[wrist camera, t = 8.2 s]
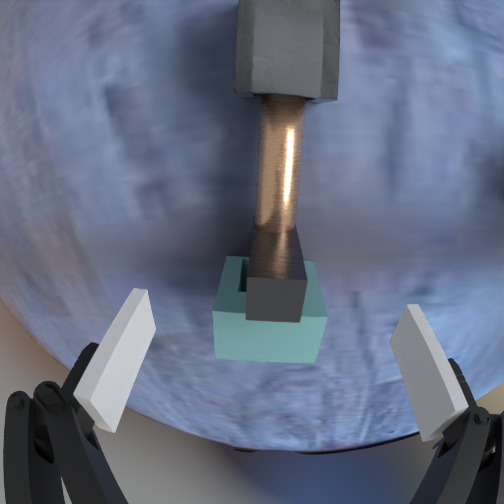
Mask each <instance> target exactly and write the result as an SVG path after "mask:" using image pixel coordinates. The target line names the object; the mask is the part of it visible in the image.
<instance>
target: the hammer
mask: <svg viewBox="0 0 504 504" xmlns="http://www.w3.org/2000/svg"><path fill="white" fill-rule="evenodd" d="M305 100H306V97H299V96H288V95H275V94H261V109H260V129H259V150H258V170H257V190H256V210H255V216H254V223H253V232H252V240H251V248H250V257H249V265H248V273H247V291H246V317H245V320H253V321H270V322H291V323H300V320H301V315H302V310H303V304H304V299H305V293H306V288H307V282H308V279H307V274H306V270H305V265H304V260H303V256H302V251H301V247H300V242H299V238H298V234H297V229H296V225H295V218H296V209H297V199H298V189H299V178H300V167H301V156H302V143H303V130H304V116H305Z"/></svg>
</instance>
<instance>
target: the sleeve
mask: <svg viewBox="0 0 504 504" xmlns="http://www.w3.org/2000/svg"><path fill="white" fill-rule="evenodd" d="M339 52H340V0H239V7H238V23H237V40H236V59H235V80H234V92H235V93H237V94H238V95H239V96H241V97H242V98H261V94H275V95H288V96H299V97H306V100H305V102H311V103H324V102H330V101H335V100H337V95H338V77H339Z"/></svg>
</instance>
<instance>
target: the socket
mask: <svg viewBox="0 0 504 504" xmlns="http://www.w3.org/2000/svg"><path fill="white" fill-rule="evenodd" d="M248 265H249V257H241V256H226V260H225V264H224V268H223V271H222V275H221V279H220V283H219V287H218V291H217V294H216V298H215V302H214V306H213V310H212V315H213V332H214V348H215V358H220V359H232V360H245V361H261V362H284V363H315V360H316V357H317V353H318V350H319V347H320V343H321V340H322V336H323V332H324V329H325V325H326V321H327V318H328V317H327V313H326V308H325V304H324V300H323V297H322V293H321V289H320V285H319V281H318V277H317V274H316V270H315V266H314V263H313V261H308V260H304V265H305V270H306V274H307V279H308V282H307V288H306V293H305V299H304V304H303V310H302V315H301V320H300V323H291V322H270V321H253V320H245V317H246V291H247V273H248Z"/></svg>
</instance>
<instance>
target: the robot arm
mask: <svg viewBox="0 0 504 504" xmlns="http://www.w3.org/2000/svg"><path fill="white" fill-rule="evenodd" d="M155 331H156V327H155V323H154V319H153V315H152V310H151V306H150V301H149V296H148V291H147V290H145V289H137V288H133V290H132V291H131V293H130V295H129V296H128V298H127V299H126V301H125V303H124V304H123V306H122V307H121V309H120V311H119V312H118V314H117V316H116V317H115V319H114V321H113V322H112V324H111V326H110V327H109V329H108V331H107V332H106V334H105V336H104V338H103V339H102V341H101V343H100V344H97V343H93V342H91V343H90V344H89V345H88V346H86V347H85V348H84V349H83V351H82V352H81V354H80V356H79V357H78V360H77V361H76V363H75V364H74V367H73V368H72V370H71V371H70V373H69V375H68V377H67V379H66V381H65V382H64V384H63V386H62V388H60V387H59V385H57V384H56V383H55V382H52V381H44V382H42V383H41V384H39V385H38V386H37V387H36V389H35V391H34V394H33V399H32V398H30V397H29V396H28V395H27V394H26V393H25V392H23V391H16V392H14V393H13V394H11V395H10V397H9V398H8V402H7V407H6V416H5V429H4V449H3V458H4V459H3V467H4V488H5V499H6V504H65V501H64V495H63V489H62V481H61V476H62V479H63V482H64V484H65V487H66V490H67V492H68V495H69V497H70V500H71V502H72V504H128V502H127V500H126V499H125V497H124V495H123V493H122V491H121V489H120V487H119V486H118V484H117V482H116V480H115V478H114V476H113V474H112V472H111V469H110V467H109V465H108V463H107V461H106V458H105V456H104V454H103V452H102V449H101V447H100V444H99V442H98V440H97V437H96V435H95V432H94V430H93V425H94V423H96V424H97V426H98V427H99V428H101V429H104V430H107V431H110V432H113V433H115V431H116V429H117V426H118V423H119V420H120V417H121V415H122V412H123V410H124V407H125V404H126V402H127V399H128V397H129V394H130V391H131V389H132V386H133V384H134V381H135V379H136V376H137V374H138V371H139V369H140V366H141V364H142V362H143V359H144V357H145V354H146V352H147V350H148V347H149V345H150V343H151V340H152V338H153V336H154V333H155ZM389 342H390V344H391V347H392V350H393V352H394V355H395V358H396V360H397V363H398V366H399V369H400V371H401V374H402V377H403V380H404V383H405V386H406V389H407V392H408V395H409V398H410V401H411V404H412V407H413V411H414V414H415V417H416V421H417V424H418V428H419V431H420V435H421V438H422V442H425V441H428V440H432V439H435V438H436V437H438V436H439V435H440V434H441V433H443V435H444V437H443V438H442V439H441V440H440V441H439V442H437V443H436V444H435V445H434V446H433V448H432V449H434V448H436V447H437V446H438V445H439V446H438V448H437V450H436V453H435V455H434V457H433V460H432V462H431V464H430V466H429V468H428V470H427V472H426V475H425V476H424V479H423V480H422V482H421V484H420V486H419V488H418V490H417V492H416V494H415V495H414V497H413V499H412V501H411V502H410V504H504V411H503V412H502V413H501V414H500V415H498V414H497V415H496V414H495V415H494V414H489V413H488V411H487V410H486V409H485V408H483V407H478V406H477V404H476V402H475V400H474V397H473V395H472V393H471V391H470V388H469V386H468V384H467V382H466V380H465V378H464V375H462V374H463V373H462V371H461V369H460V367H459V365H458V364H457V363H456V362H455V361H454V360H453V359H452V358H450V359H447V357H446V355H445V353H444V351H443V349H442V347H441V345H440V343H439V342H438V340H437V338H436V336H435V334H434V332H433V330H432V328H431V327H430V325H429V323H428V321H427V319H426V318H425V316H424V314H423V312H422V311H421V309H420V307H419V305H418V304H406V306H405V308H404V311H403V313H402V315H401V318H400V320H399V322H398V324H397V327H396V329H395V331H394V333H393V335H392V337H391V339H390V341H389ZM494 447H495V452H494V453H493V448H494ZM60 473H61V474H60Z"/></svg>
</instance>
